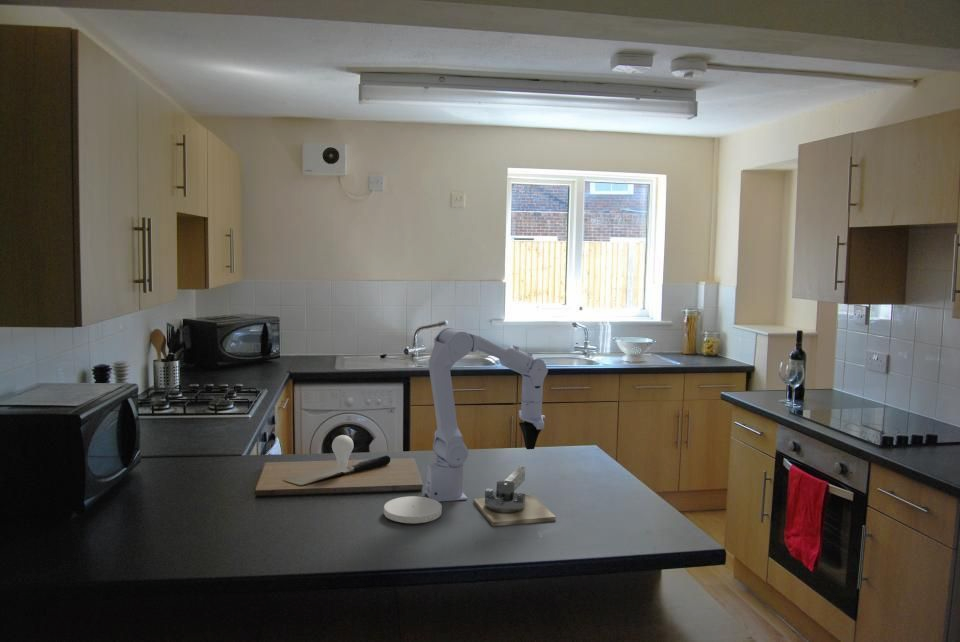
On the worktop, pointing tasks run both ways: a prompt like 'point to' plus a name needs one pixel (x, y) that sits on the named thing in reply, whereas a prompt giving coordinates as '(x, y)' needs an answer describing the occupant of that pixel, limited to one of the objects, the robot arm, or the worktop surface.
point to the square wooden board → (517, 513)
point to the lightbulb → (342, 449)
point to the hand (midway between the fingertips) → (529, 448)
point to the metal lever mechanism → (507, 494)
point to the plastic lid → (412, 509)
